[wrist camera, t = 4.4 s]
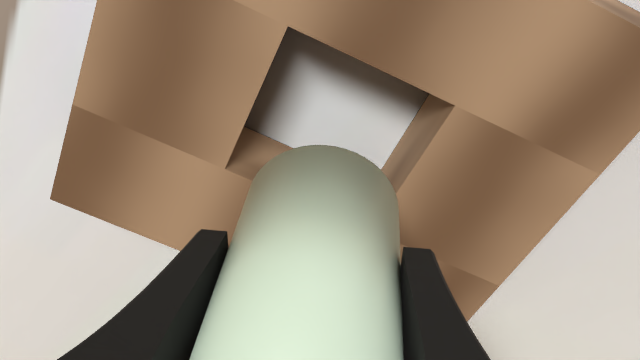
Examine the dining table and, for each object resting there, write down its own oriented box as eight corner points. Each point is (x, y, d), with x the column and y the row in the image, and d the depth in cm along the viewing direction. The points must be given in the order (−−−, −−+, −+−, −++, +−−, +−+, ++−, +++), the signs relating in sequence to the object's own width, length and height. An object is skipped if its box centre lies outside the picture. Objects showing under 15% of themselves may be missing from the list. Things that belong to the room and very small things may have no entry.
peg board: (661, 24, 19) (702, 60, 16) (433, 299, 27) (438, 353, 24) (187, -230, 16) (152, -231, 14) (84, 155, 24) (50, 199, 21)
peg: (407, 151, 15) (425, 453, 8) (390, 275, 17) (394, 595, 10) (244, 139, 15) (126, 422, 8) (249, 262, 17) (159, 568, 10)
